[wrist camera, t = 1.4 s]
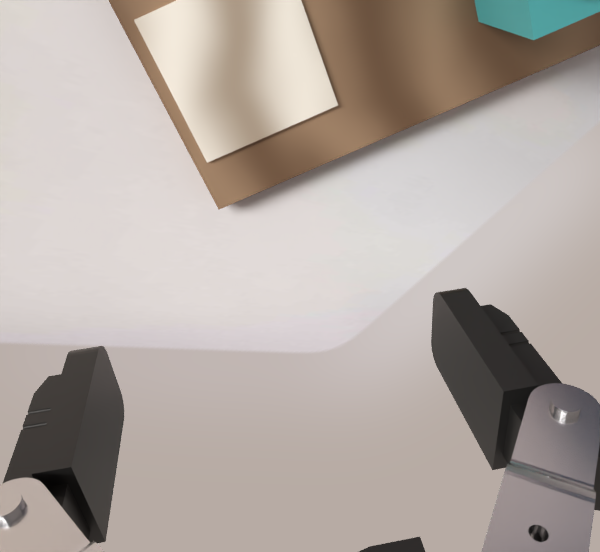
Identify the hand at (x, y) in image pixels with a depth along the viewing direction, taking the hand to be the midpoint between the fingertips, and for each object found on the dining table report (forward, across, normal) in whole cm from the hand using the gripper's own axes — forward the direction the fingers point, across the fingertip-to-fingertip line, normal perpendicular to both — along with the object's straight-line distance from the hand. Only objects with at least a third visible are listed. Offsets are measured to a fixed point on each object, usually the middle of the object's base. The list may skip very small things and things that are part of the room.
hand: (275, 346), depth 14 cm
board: (+22, -8, -5) cm, 24 cm away
